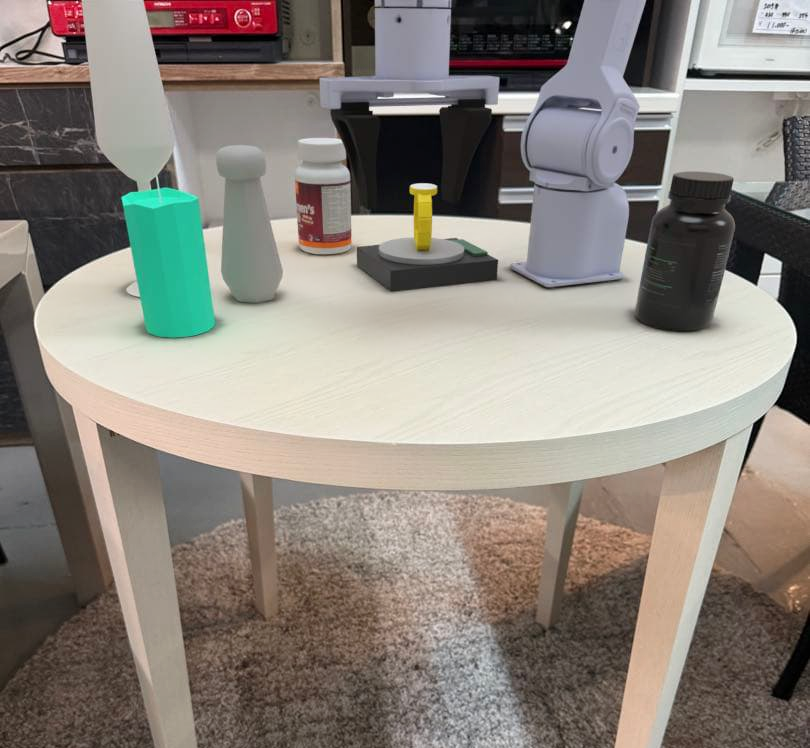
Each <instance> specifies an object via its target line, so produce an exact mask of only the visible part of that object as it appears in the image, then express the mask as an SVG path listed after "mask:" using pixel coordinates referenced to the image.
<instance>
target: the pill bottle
mask: <svg viewBox="0 0 810 748" xmlns="http://www.w3.org/2000/svg"><path fill="white" fill-rule="evenodd" d="M297 150H298V151H297V157H298V158H297V159H299V160H301V161H302V164H300V165H298V167H296V169H295V172H294V182H295V183H294V186H295V202H296V203H295V205H296V206H295V208H296V222H297V223H296V224H297V237H298V246H299V248H300V249H301V251H303V252H305V253H308V254H312V255H335V254H342V253H346V252H347V251H349V250H350V249H351V247H352V243H353V242H352V198H351V197H352V195H351V194H352V193H351V192H352V191H351V189H352V188H351V173H350V170H349V168H348V167H346V166H345V165H344V164H343V163H342V161H344V160H346V159H347V152H346V150H345V147H344V145H343V142H342V140H341V138H333V137H307V138H301V139H298V141H297Z"/></svg>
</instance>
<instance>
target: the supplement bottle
mask: <svg viewBox="0 0 810 748" xmlns="http://www.w3.org/2000/svg"><path fill="white" fill-rule="evenodd" d="M733 185H734V177H733V176H731V175H728V174H725V173H718V172H711V171H679V172H675V173H673V175H672V178H671V183H670V188H669V191H668V195H667V198H668V199H669V203H668V205H666V206H664V207H662V208H661V209H659V210H658V211H657V212H656V213H655V214H654V216H653V217H652V219H651V222H650V228H649V232H648V239H647V244H646V248H645V249H646V250H645V254H644V260H643V266H642V271H641V275H640V280H639V287H638V292H637V297H636V303H635V310H634V311H635V312H634V313H635V316H636V318H637V319H638V320H639V321H640V322H641V323H642V324H645V325H647V326H649V327H653V328H657V329H660V330H667V331H674V332H692V331H698V330H702V329H704V328H706V327H708V326H709V325H710V324H711V323H712V321H713V320H714V316H715V312H716V307H717V304H718V300H719V296H720V291H721V288H722V283H723V279H724V277H725V276H724V275H725V272H726V269H727V263H728V260H729V257H730V252H731V248H732V243H733V239H734V235H735V231H736V223H735V219H734V217H733V216H732V214H731V213H730V212H728V211H727V209H726V204H729V203H730V202H731V198H732V195H731V193H732V188H733Z"/></svg>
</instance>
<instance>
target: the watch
mask: <svg viewBox="0 0 810 748" xmlns="http://www.w3.org/2000/svg"><path fill="white" fill-rule="evenodd" d="M409 194H410V195H412V196H414V198H413V237H414V242H415V245H416V250H429V249H430V245H431V238H432V232H433V199H432V197H433V196H436V195H437V194H438V185H436V184H433V183H426V182H425V183H424V182H419V183H412V184H410V185H409Z"/></svg>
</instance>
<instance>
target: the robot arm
mask: <svg viewBox="0 0 810 748" xmlns="http://www.w3.org/2000/svg"><path fill="white" fill-rule="evenodd" d="M646 1H647V0H584V1H583V4H582V8H581V12H580V14H579V15H580V16H579V18H578V23H577V26H576V29H575V32H574V37H573V41H572V44H571V48H570V51H569V56H568V59H567V62H566V64H565V66H564V67H563V68H561V69H560V70H558V72H557V73H556V74H554V75H553V76H552V77H551V78H549V79H548V80H547V81H546V82H545V83H543V85H542V86H541V87H540V90H539V94H538V98H537V101H536V103H535V106H534V108H533V110H532V111H531V113H530V114H529V116H528V118H527V119H526V121H525V123H524V126H523V129H522V133H521V138H520V154H521V159H522V163H523V164H524V166H525V168H526V169H527V170H528V171H529V178H528V180H529V182H530V181H531V182H534V184H533V194H532V204H531V214H530V222H529V223H530V225H529V234H528V244H527V254H526V261H522V262H513V263H510V264H509V268H510V270H513V271H515V272H517V273H518V274H520V275H522V276H524V277H526V278H528V279H529V280H532V281H533V282H535V283H537V284H539V285H542V286H543V287H545V288H554V287H565V286H573V285H582V284H589V283H597V282H598V283H599V282H606V281H615V280H622V279H624V276H625V274H624V273H622V272H621V271H620V270H621V264H622V260H623V252H624V248H625V247H624V246H625V242H626V241H625V240H626V235H627V229H628V223H629V216H630V205H629V199H628V198H629V197H628V195H627V192H626V191H625V190H624V188H623V187H622V186H621V185H619V183H616V181H617V180H618V179H619V178H620V177H621V176H622V175H623V173H624V172H625V170H626V169H627V167H628V165H629V163H630V160H631V158H632V154H633V150H634V143H635V142H634V141H635V140H634V139H635V138H634V134H635V127H636V126H635V125H636V120H637V117H638V114H639V111H640V103H639V101H638V99H637V98H636V96H635V94H634V93H633V91H632V90H631V88H630V86H629V85H628V84H627V82H626V80H625V79H624V74H625V72H626V69H627V65H628V61H629V58H630V55H631V51H632V48H633V45H634V43H635V42H634V41H635V38H636V35H637V32H638V28H639V26H640V25H639V24H640V22H641V19H642V15H643V12H644V8H645V6H646ZM374 7H375V8H374V60H375V61H374V62H375V63H374V64H375V65H374V67H375V69H374V70H375V71H374V72H375V74H374V75H366V76H364V75H363V76H343V77H342V76H341V77H320V78H319V95H320V96H319V97H320V98H319V99H320V107H321V108H325V109H327V110H330V114H329V115H330V118H331V121H332V124H333V125H334V128H335V129H336V132H337V133H338V136H339V139H341V140H342V142H343V145H344V147H345V152H346V156H347V158H348V160H349V164H350V167H351V170H352V173H353V177H354V181H355V185H356V190H357V195H358V202H359V206H361V207H362V208H364V209H366V210H369V211H372V210H376V209H377V200H378V189H377V155H378V153H377V152H378V143H379V134H380V127H381V119H380V118H379V116H376V115H374V112H373V110H370V108H375V107H377V108H379V107H380V108H381V107H383V108H385V107H416V106H417V107H419V106H442V107H440V108H439V110H438V112H439V120H440V130H441V141H442V168H441V169H442V171H441V197H442V200H444V201H446V202H448V203H450V204H459V203H460V200H461V196H462V193H463V188H464V185H465V181H466V177H467V175H468V171H469V168H470V166H471V162H472V160H473V157H474V155H475V152H476V150H477V148H478V146H479V143H480V142H481V140H482V138H483V136H484V134H485V133H486V130H487V129H488V128H489V126H490V124H491V122H492V115H493V109H492V108H490V107H486V106H490V105H491V106H492V105H493V106H494V105H495V106H496V105H498V103H499V92H500V91H499V90H500V77H499V76H493V75H449V74H450V50H451V49H450V47H451V24H452V23H451V22H452V9H451V8H452V0H374ZM395 93H402V94H403V93H404V94H405V93H408V94H409V93H416V94H417V93H418V94H421V93H423V94H424V93H428V95H434V97H433V96H432V97H431V96H430V97H397V98H396V97H395V98H394V96H395ZM435 96H437V97H435Z"/></svg>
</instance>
